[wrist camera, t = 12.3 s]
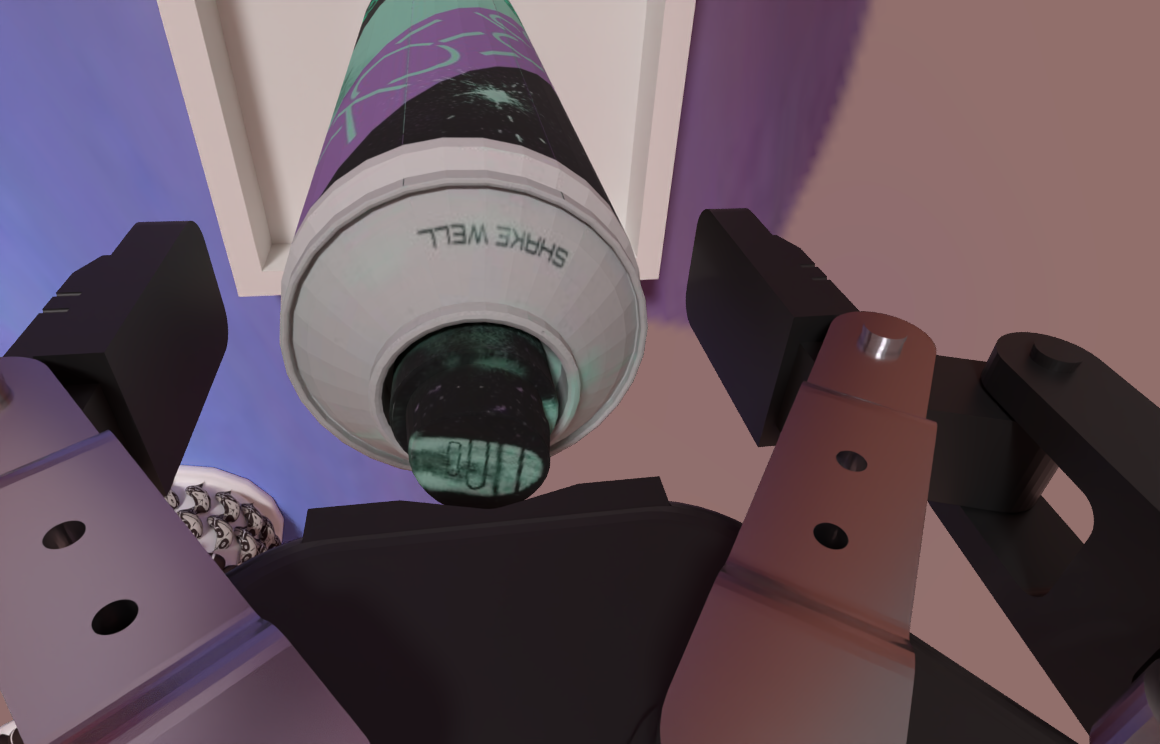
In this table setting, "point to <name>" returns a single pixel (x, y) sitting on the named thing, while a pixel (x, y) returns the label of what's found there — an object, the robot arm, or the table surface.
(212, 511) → the decorative candle
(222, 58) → the tray
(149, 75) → the table surface
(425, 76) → the spray can
